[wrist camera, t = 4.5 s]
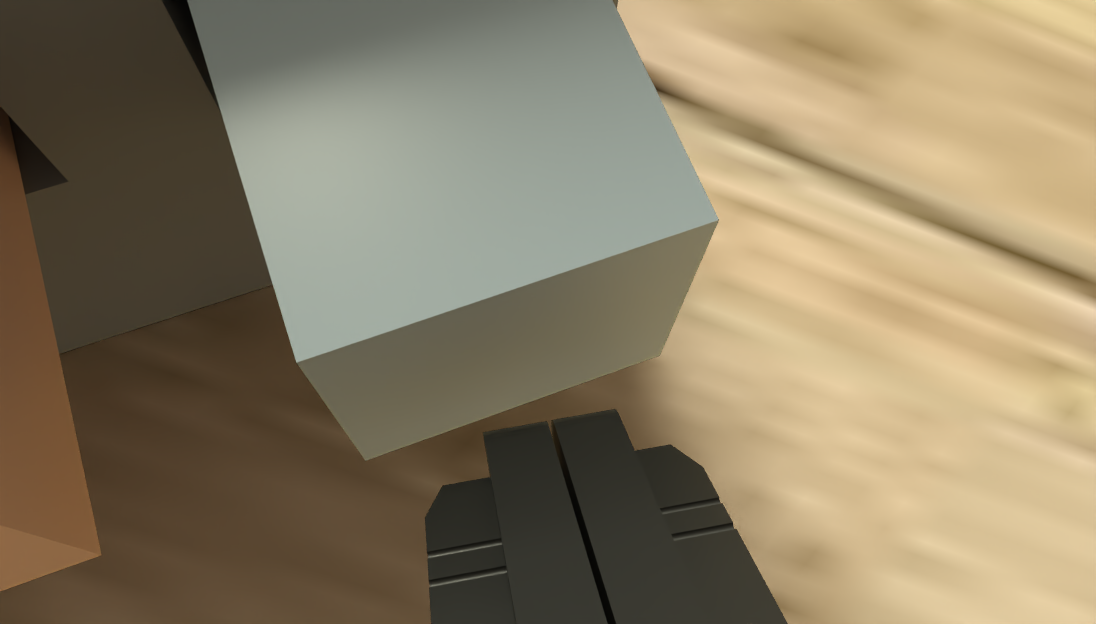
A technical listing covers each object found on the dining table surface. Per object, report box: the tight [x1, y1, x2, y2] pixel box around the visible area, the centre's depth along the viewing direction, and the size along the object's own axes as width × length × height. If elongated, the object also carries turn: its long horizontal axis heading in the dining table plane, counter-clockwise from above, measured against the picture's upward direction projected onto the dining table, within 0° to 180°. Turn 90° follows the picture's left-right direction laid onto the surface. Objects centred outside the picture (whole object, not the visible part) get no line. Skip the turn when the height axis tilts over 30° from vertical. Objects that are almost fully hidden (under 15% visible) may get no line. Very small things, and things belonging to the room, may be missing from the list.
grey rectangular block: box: [187, 0, 719, 461], centre depth 13 cm, size 4×8×4 cm, turn 21°
